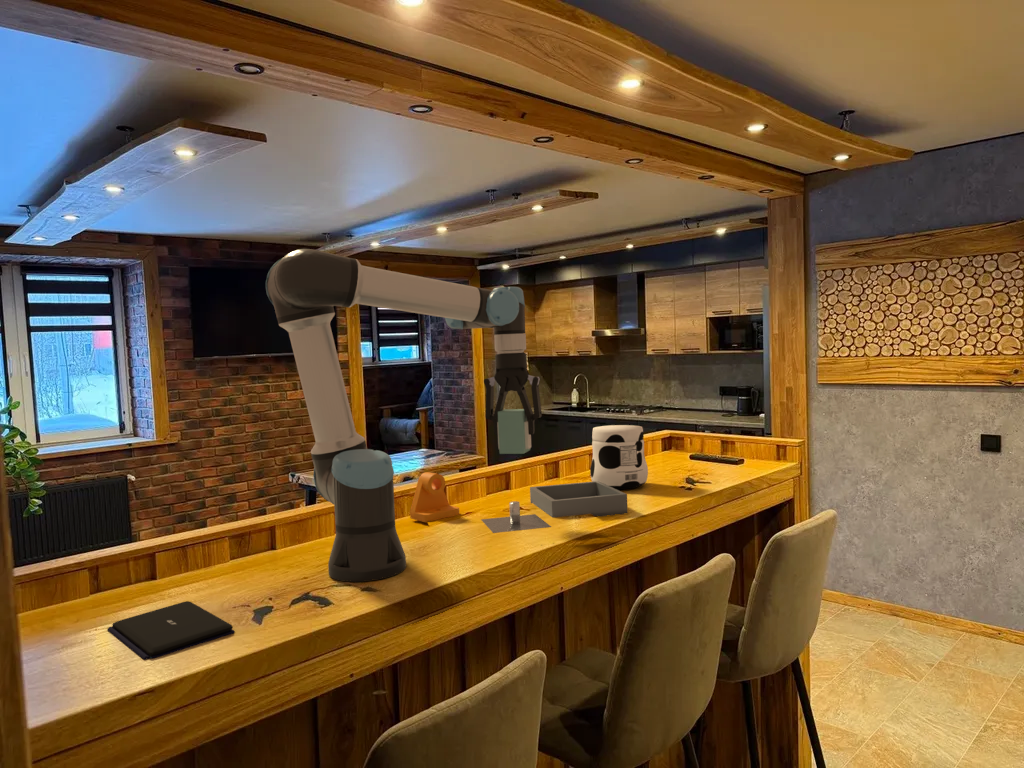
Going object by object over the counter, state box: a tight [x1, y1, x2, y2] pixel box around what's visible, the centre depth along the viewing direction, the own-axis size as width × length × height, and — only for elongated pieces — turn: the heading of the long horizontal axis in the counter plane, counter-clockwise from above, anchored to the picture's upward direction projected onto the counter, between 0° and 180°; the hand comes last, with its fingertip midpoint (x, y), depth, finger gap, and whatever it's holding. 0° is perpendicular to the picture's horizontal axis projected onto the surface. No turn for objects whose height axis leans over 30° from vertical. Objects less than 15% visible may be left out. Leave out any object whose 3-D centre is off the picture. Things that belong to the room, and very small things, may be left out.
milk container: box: [589, 424, 649, 490], centre depth 217 cm, size 17×17×18 cm
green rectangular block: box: [498, 408, 531, 455], centre depth 171 cm, size 6×6×10 cm
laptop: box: [107, 600, 236, 661], centre depth 114 cm, size 16×20×2 cm
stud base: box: [480, 500, 552, 534], centre depth 172 cm, size 14×14×6 cm
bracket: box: [409, 471, 460, 523], centre depth 183 cm, size 11×7×12 cm, turn 130°
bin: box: [529, 481, 629, 518], centre depth 188 cm, size 20×20×5 cm
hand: (514, 448), depth 172 cm, fingers closed on green rectangular block, 6 cm apart
